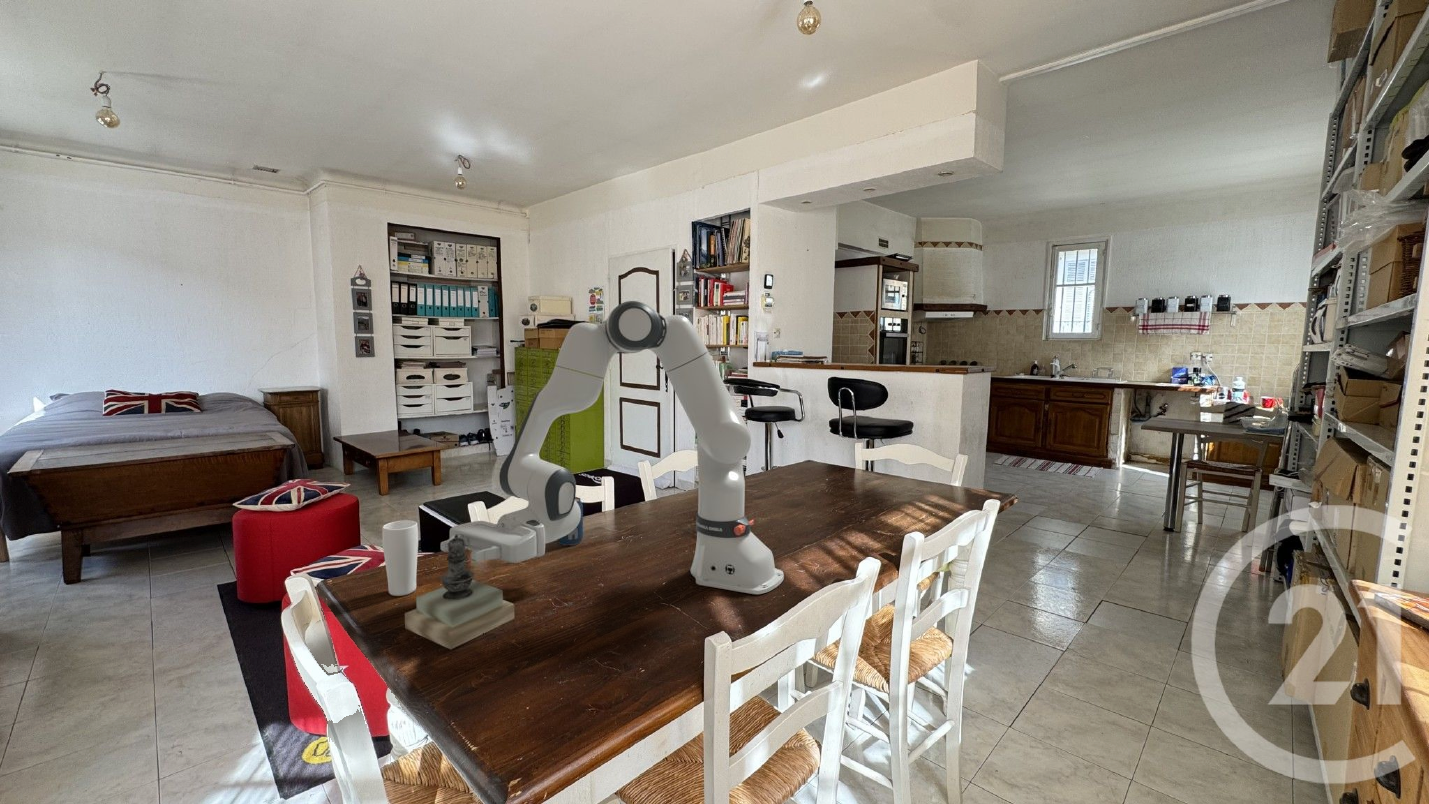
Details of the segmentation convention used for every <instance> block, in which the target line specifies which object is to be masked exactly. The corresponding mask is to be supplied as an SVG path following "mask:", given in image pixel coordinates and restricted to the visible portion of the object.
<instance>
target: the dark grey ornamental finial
mask: <svg viewBox="0 0 1429 804" xmlns="http://www.w3.org/2000/svg"><path fill="white" fill-rule="evenodd" d="M454 537H455V538H454V539H452V540H451V541H450V542H449V544H448V556H446V561H447V562H448V569H447V573H445V574H443V575H442V576H441V577H440V582H442V587H444V588H445V589H447V590H448V591H447V592H445V593H444V594H443V598H444V599H446V600H461V599H464V598H467V597H469V596H471V595H472V593H473V591H472V590H471V589H469V588H468V587H469V586H470V584H471V582H472V580H473V578H474V577H475V576H474V575H475V573H474V572H473V571H470V570H467V567H466V565H467V564H466V560H467V558H468V555H467V554H466V549H465V542H464V540H463V539H461V538H458V535H457V534H456V535H455V536H454Z"/></svg>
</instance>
